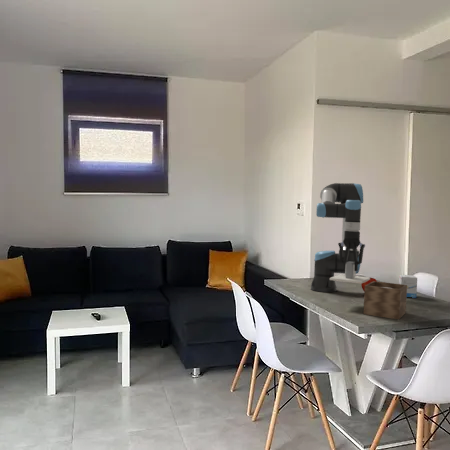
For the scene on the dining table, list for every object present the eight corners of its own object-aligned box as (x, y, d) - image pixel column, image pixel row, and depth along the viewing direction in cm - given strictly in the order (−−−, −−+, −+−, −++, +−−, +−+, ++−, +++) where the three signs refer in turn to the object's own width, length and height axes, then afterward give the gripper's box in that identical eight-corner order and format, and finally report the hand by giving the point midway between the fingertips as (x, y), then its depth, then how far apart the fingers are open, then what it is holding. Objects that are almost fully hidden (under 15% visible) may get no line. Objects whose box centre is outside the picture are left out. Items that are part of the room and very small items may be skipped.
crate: (363, 314, 221) (364, 285, 220) (371, 307, 234) (373, 281, 234) (399, 319, 212) (400, 289, 212) (405, 312, 226) (407, 284, 225)
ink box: (416, 298, 262) (417, 277, 262) (400, 297, 264) (401, 276, 263) (413, 295, 271) (414, 275, 270) (398, 294, 272) (399, 274, 272)
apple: (358, 295, 264) (359, 276, 264) (365, 293, 271) (366, 275, 270) (372, 298, 259) (373, 278, 258) (379, 296, 265) (380, 277, 264)
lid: (329, 280, 235) (330, 262, 234) (339, 276, 248) (340, 259, 248) (361, 283, 226) (362, 265, 226) (370, 279, 240) (370, 262, 240)
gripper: (334, 230, 237) (332, 276, 238) (366, 231, 229) (364, 279, 230) (338, 229, 244) (337, 274, 245) (370, 231, 235) (368, 277, 236)
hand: (350, 276), depth 237 cm, fingers closed on lid, 3 cm apart
